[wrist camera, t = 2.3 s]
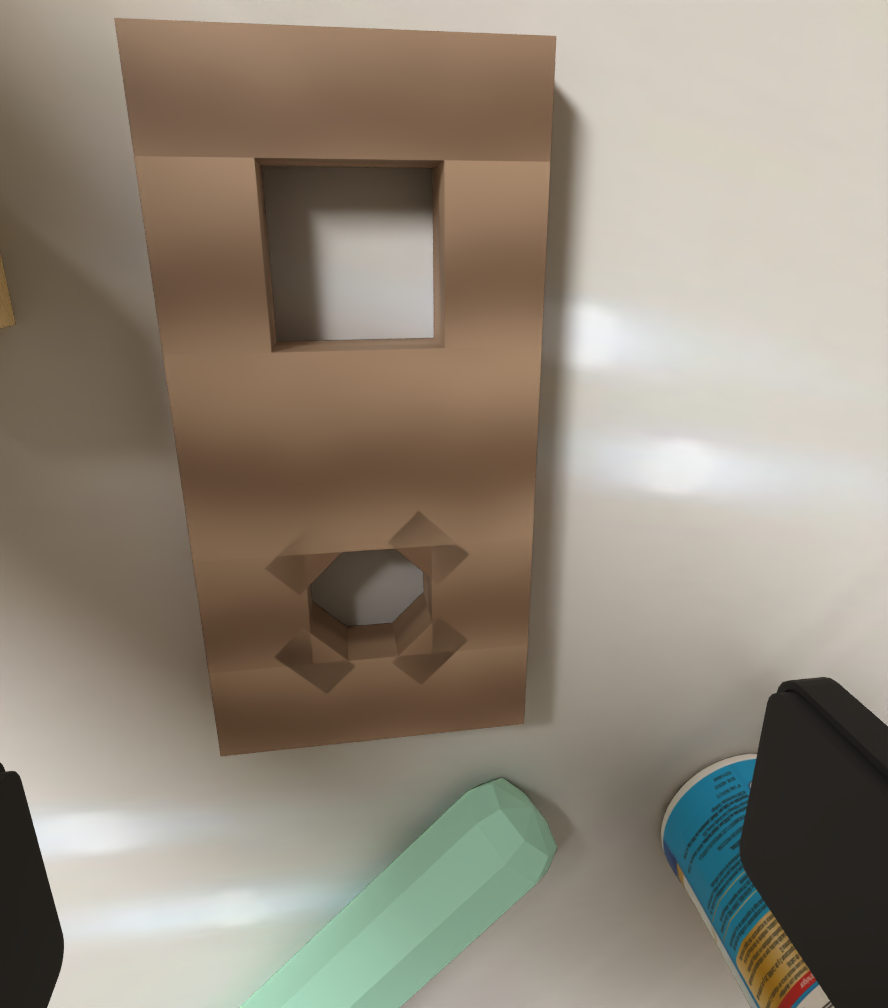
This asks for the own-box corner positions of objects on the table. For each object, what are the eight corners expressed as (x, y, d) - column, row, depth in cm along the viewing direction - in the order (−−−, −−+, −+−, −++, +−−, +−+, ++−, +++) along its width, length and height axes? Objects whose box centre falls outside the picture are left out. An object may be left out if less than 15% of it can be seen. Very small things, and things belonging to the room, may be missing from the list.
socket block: (137, 42, 21) (114, 18, 18) (532, 56, 22) (556, 36, 20) (228, 715, 29) (220, 756, 27) (509, 687, 31) (524, 723, 29)
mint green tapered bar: (533, 862, 27) (126, 1234, 30) (601, 874, 31) (234, 1201, 34) (465, 740, 31) (114, 1079, 35) (532, 765, 35) (211, 1065, 39)
